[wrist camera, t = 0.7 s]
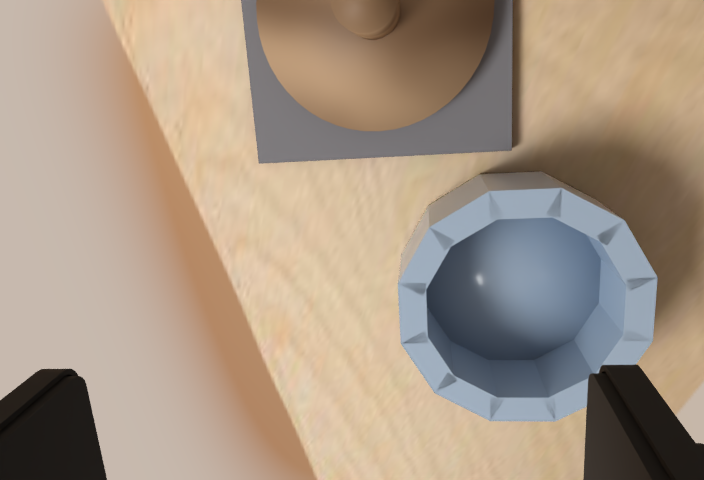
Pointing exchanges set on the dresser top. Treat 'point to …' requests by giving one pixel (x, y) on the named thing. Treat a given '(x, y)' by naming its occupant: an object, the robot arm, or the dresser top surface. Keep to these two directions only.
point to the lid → (374, 55)
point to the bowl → (522, 296)
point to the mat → (416, 139)
